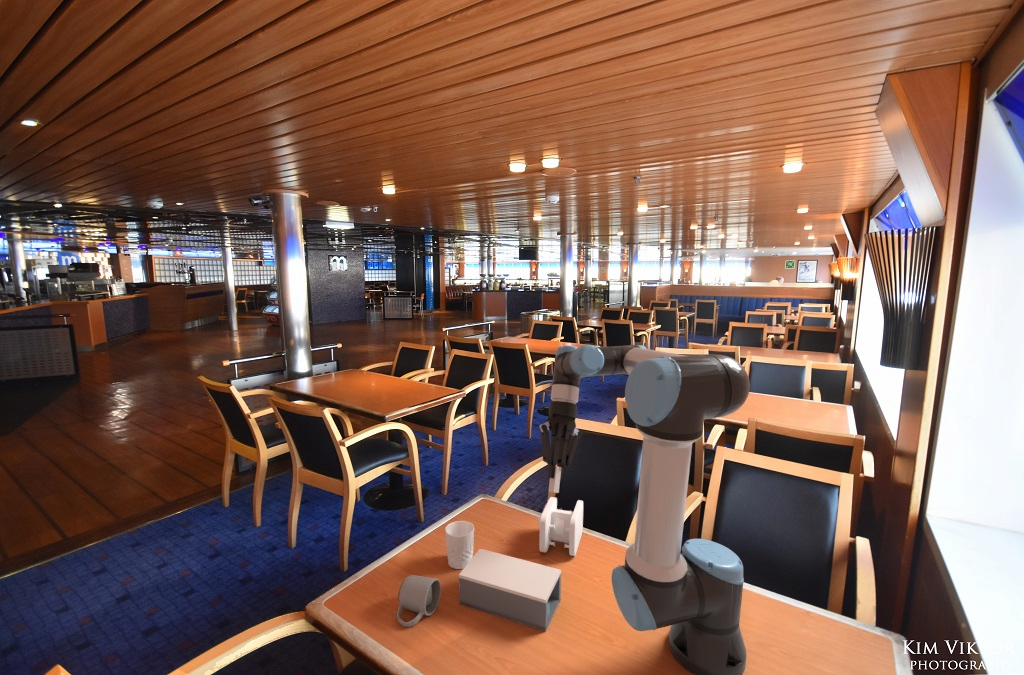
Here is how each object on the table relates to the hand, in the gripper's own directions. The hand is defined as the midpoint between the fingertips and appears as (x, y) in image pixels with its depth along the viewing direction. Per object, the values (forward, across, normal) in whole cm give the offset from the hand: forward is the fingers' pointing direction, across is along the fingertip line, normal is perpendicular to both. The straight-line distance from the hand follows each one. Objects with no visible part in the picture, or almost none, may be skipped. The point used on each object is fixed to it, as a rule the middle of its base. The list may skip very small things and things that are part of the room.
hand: (553, 491), depth 124 cm
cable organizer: (+15, -14, -16) cm, 26 cm away
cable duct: (+27, +8, -1) cm, 28 cm away
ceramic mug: (+31, +28, -8) cm, 43 cm away
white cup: (+23, +15, -20) cm, 34 cm away
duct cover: (+20, +10, +1) cm, 22 cm away
